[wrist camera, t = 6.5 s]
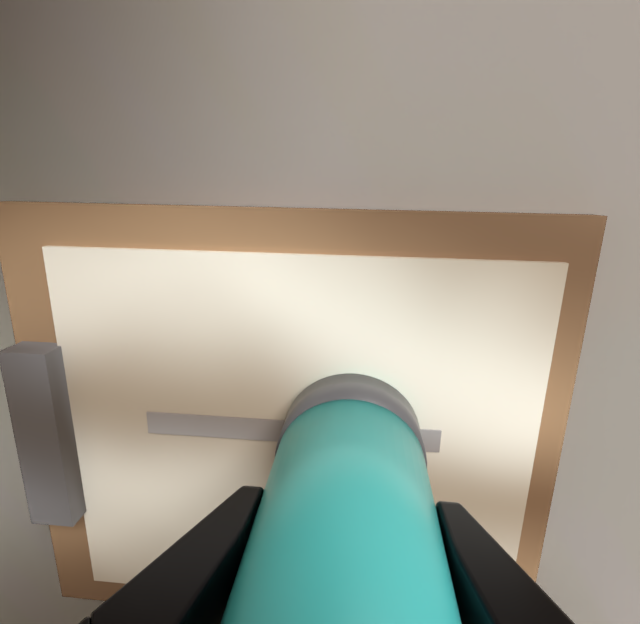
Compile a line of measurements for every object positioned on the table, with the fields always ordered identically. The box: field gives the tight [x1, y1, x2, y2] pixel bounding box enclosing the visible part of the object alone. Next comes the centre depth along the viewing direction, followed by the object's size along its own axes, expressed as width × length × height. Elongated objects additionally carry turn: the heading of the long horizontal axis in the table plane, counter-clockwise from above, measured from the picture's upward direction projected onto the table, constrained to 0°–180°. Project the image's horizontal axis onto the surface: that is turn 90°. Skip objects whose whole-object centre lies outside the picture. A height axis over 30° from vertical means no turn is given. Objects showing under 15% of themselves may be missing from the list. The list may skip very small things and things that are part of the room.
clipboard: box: [0, 201, 607, 601], centre depth 11 cm, size 12×14×1 cm
